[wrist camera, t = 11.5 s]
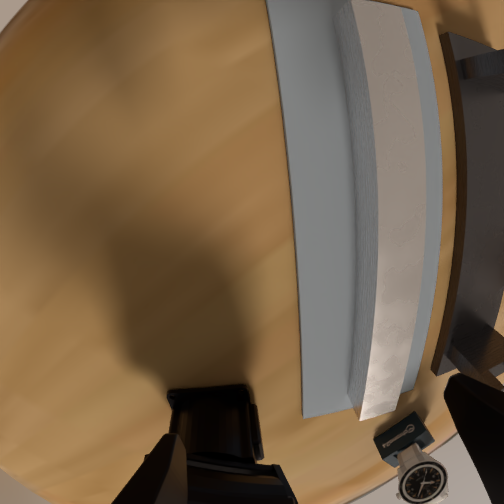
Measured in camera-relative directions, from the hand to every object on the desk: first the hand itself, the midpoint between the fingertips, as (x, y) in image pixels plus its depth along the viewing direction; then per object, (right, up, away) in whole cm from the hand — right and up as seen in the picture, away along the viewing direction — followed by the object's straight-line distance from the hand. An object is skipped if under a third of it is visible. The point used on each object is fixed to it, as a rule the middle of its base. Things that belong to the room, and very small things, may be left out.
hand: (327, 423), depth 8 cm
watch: (+14, -15, +19) cm, 28 cm away
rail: (+6, +6, +11) cm, 14 cm away
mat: (+6, +7, +11) cm, 14 cm away
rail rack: (+17, +8, +11) cm, 22 cm away
